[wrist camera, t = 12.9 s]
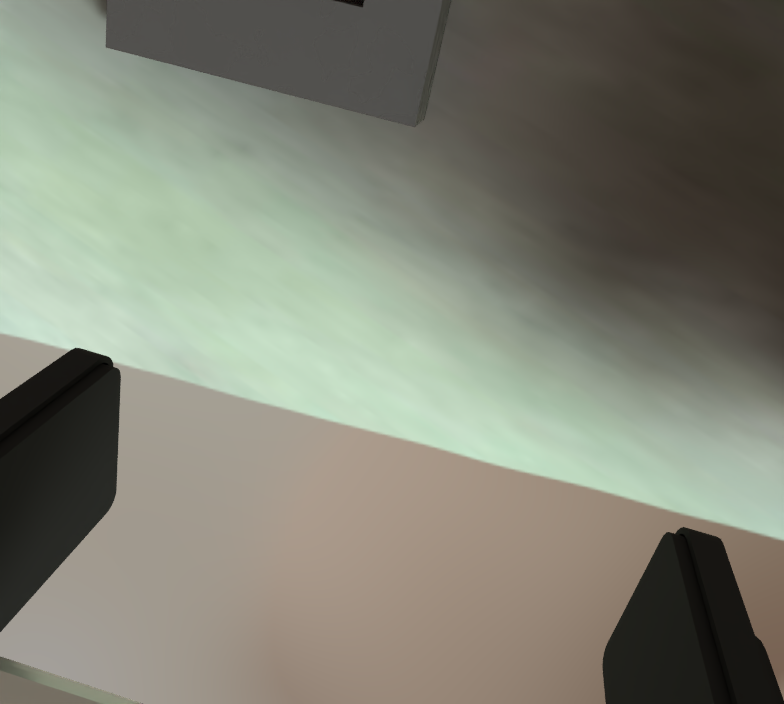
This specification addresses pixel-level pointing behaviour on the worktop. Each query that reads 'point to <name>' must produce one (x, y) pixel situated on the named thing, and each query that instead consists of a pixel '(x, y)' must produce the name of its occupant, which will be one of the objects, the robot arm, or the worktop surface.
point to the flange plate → (297, 46)
